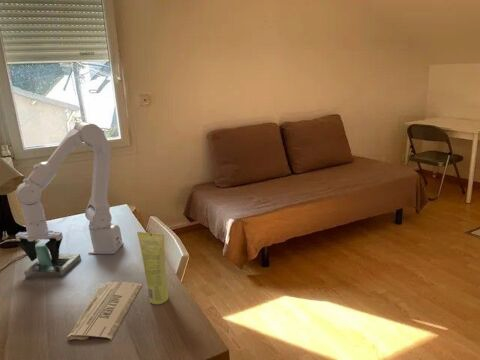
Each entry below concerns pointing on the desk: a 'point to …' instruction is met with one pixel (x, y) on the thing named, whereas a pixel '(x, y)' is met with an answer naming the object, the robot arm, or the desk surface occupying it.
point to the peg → (43, 255)
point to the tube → (154, 266)
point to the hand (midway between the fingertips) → (45, 259)
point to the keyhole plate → (54, 272)
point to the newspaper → (105, 310)
